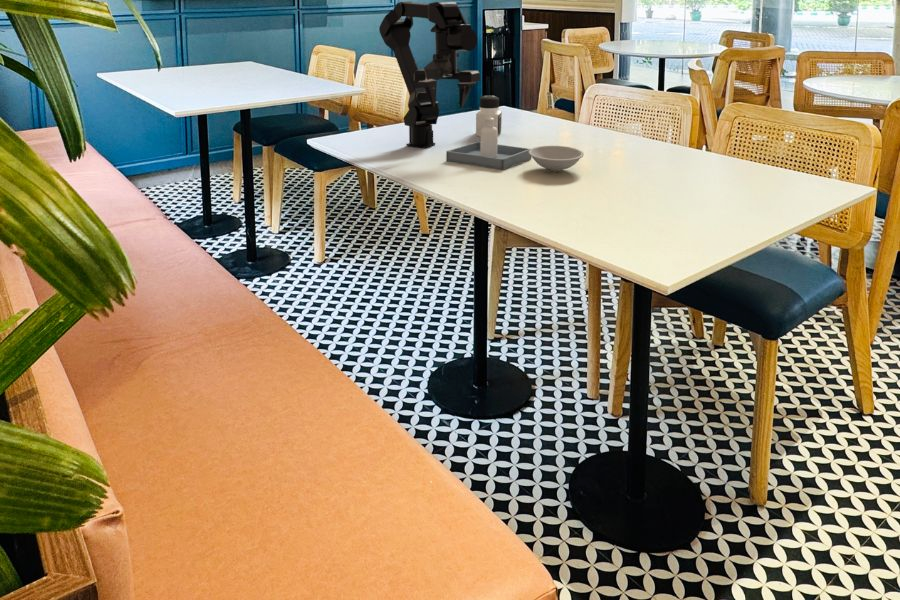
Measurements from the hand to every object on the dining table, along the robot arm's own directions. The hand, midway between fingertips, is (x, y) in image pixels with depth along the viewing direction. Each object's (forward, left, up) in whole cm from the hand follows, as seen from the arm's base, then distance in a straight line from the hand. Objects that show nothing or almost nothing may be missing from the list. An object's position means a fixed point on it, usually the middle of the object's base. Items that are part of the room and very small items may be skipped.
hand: (447, 107), depth 234 cm
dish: (+36, -2, -13) cm, 38 cm away
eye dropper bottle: (+15, -1, -12) cm, 19 cm away
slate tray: (+15, -1, -13) cm, 20 cm away
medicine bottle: (-4, +30, -13) cm, 33 cm away
